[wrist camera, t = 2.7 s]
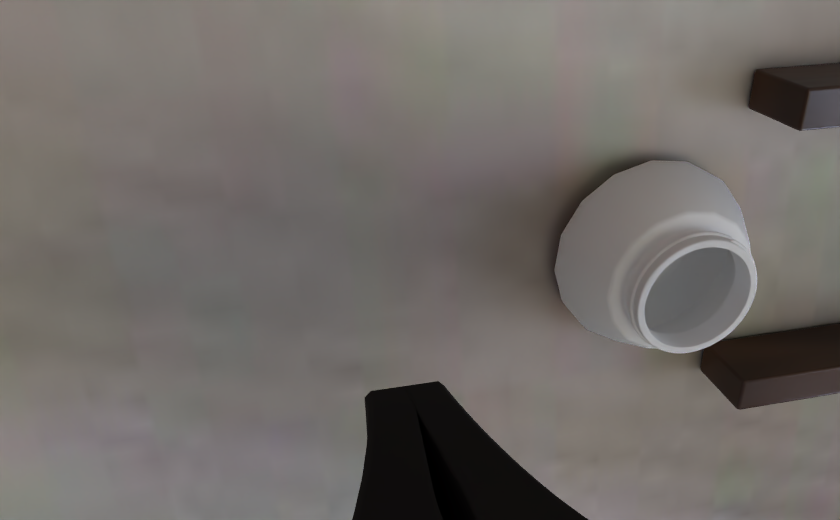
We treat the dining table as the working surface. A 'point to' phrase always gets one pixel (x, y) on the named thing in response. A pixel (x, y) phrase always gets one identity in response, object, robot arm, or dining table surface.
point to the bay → (798, 349)
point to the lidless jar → (658, 259)
